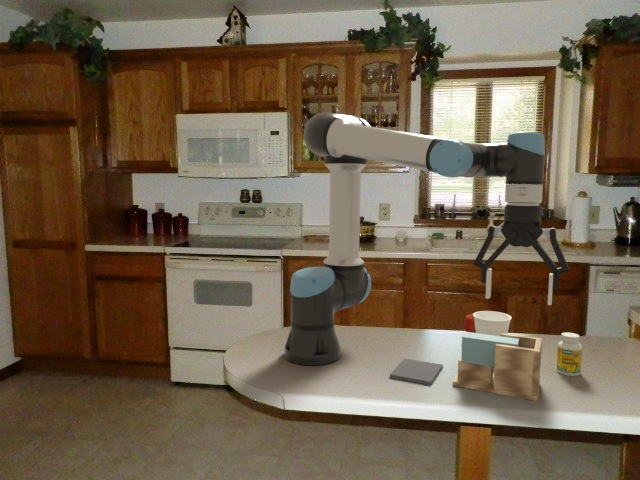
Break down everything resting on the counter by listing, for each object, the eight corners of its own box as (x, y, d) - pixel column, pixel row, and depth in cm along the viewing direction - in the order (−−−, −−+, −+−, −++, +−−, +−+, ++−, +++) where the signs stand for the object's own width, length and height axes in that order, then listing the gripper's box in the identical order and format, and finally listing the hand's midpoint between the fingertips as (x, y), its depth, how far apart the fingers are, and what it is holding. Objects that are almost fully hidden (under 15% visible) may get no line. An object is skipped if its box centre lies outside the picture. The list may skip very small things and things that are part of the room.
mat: (389, 377, 120) (389, 374, 120) (404, 361, 131) (404, 358, 131) (431, 385, 116) (431, 381, 116) (442, 367, 126) (442, 364, 126)
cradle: (452, 385, 115) (454, 339, 114) (460, 370, 124) (462, 327, 123) (537, 400, 107) (539, 351, 106) (539, 383, 116) (542, 338, 115)
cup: (512, 363, 130) (514, 321, 128) (473, 360, 132) (474, 319, 130) (506, 350, 139) (508, 311, 138) (469, 347, 141) (471, 309, 140)
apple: (489, 339, 149) (490, 314, 148) (480, 344, 144) (481, 319, 143) (470, 334, 153) (470, 311, 152) (460, 339, 149) (461, 314, 148)
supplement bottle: (578, 369, 125) (580, 332, 124) (582, 377, 120) (585, 339, 119) (554, 367, 127) (557, 330, 126) (558, 375, 122) (560, 336, 121)
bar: (461, 361, 117) (462, 336, 116) (464, 355, 121) (465, 331, 120) (516, 370, 111) (517, 344, 111) (517, 363, 115) (519, 338, 115)
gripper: (462, 203, 111) (459, 298, 114) (586, 206, 100) (579, 310, 103) (468, 202, 118) (465, 291, 120) (585, 204, 107) (579, 302, 110)
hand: (518, 300), depth 112 cm, fingers open, 12 cm apart
